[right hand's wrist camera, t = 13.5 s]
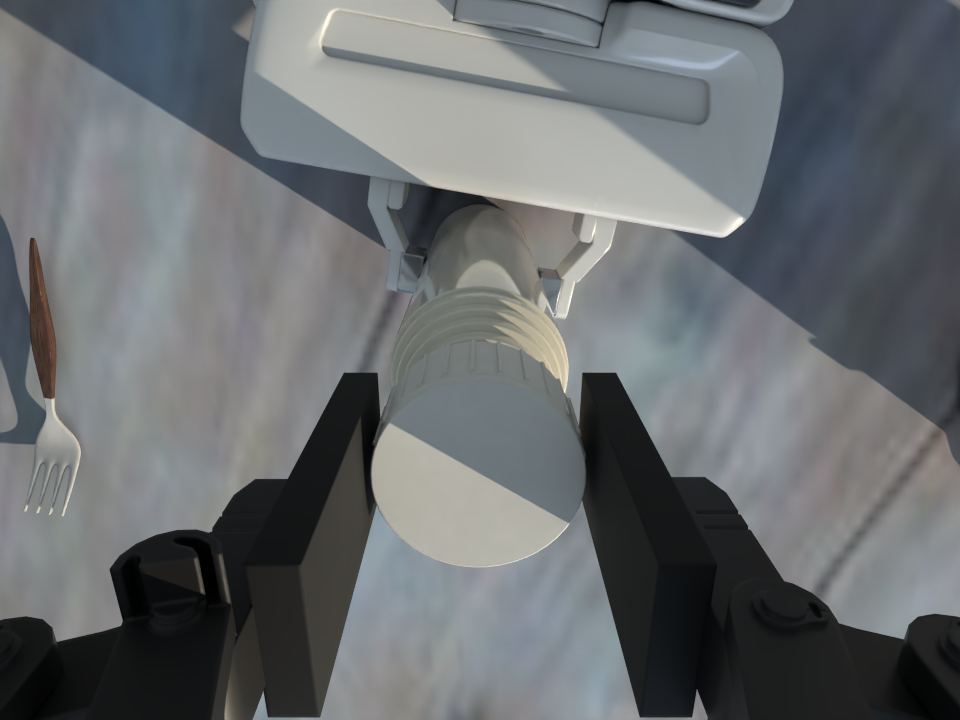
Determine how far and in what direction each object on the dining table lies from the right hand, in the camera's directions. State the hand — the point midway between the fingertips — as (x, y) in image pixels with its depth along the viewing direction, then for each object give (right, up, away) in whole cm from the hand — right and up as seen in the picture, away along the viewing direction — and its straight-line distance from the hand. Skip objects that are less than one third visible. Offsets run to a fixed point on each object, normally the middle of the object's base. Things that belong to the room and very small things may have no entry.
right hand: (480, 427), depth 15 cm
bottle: (0, +7, +19) cm, 20 cm away
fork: (-24, +1, +21) cm, 32 cm away
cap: (0, -1, -2) cm, 2 cm away
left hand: (0, +4, +13) cm, 14 cm away
